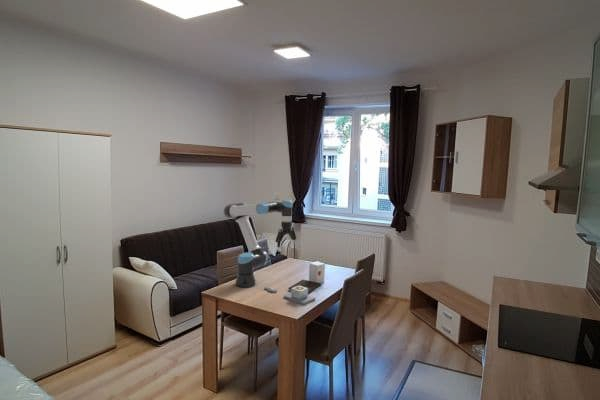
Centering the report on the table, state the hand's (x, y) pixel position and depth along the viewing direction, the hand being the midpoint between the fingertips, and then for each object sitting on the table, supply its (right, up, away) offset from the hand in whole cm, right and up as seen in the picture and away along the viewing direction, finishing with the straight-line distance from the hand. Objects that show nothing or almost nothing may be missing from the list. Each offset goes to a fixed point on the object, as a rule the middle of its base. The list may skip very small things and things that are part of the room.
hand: (285, 249), depth 251 cm
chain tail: (-11, -29, -5) cm, 31 cm away
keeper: (+10, -31, -18) cm, 37 cm away
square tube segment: (+10, -29, -19) cm, 36 cm away
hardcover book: (+14, -30, +4) cm, 33 cm away
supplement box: (+23, -28, +18) cm, 41 cm away
